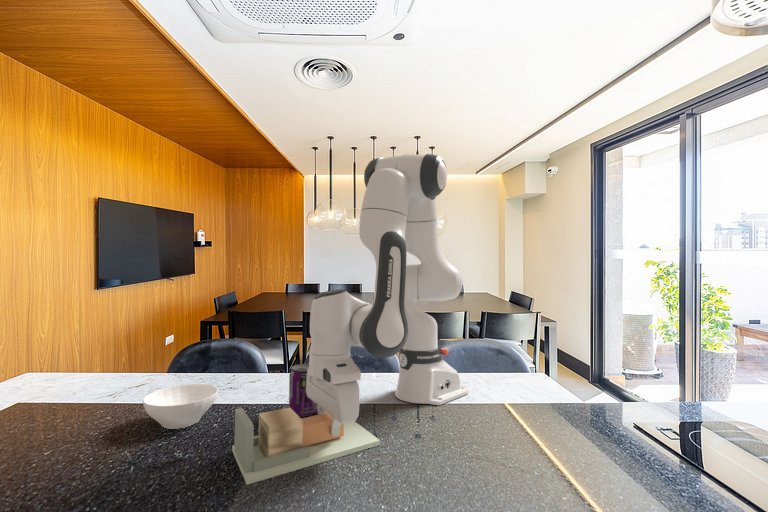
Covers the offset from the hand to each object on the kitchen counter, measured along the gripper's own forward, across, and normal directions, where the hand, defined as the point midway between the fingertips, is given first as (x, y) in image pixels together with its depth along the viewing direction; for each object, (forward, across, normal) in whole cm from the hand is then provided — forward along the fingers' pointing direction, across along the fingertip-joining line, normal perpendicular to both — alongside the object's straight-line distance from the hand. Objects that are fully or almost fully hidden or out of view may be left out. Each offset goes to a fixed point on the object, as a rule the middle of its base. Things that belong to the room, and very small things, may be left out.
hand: (329, 429), depth 78 cm
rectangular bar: (+1, 0, -4) cm, 4 cm away
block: (+2, 0, -11) cm, 11 cm away
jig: (+3, 0, -5) cm, 6 cm away
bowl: (+3, -28, -26) cm, 39 cm away
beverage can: (+3, -18, +1) cm, 18 cm away
